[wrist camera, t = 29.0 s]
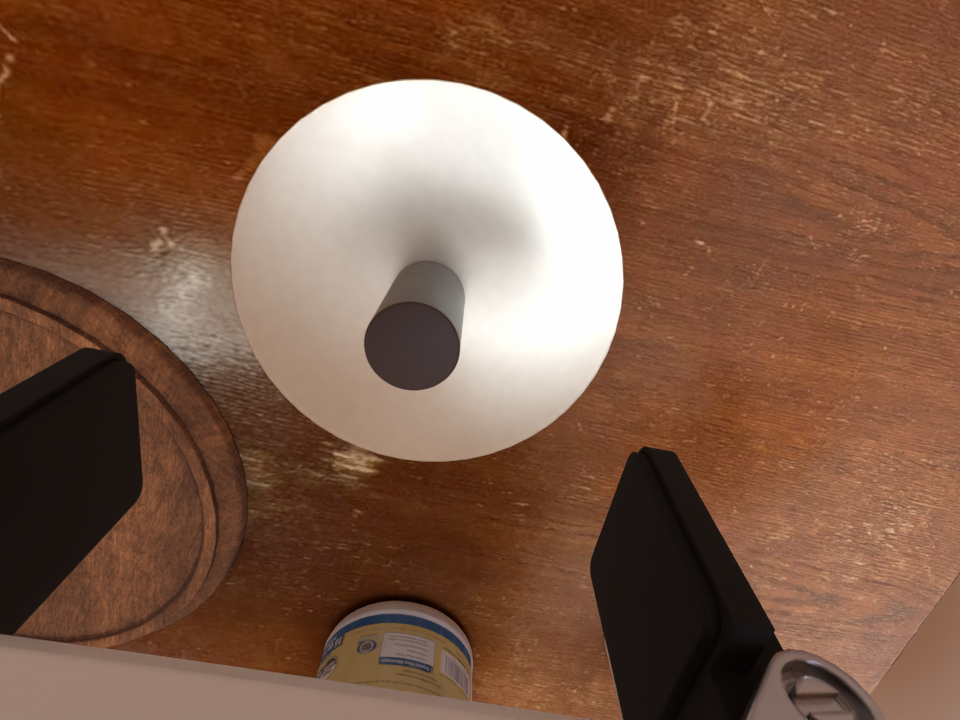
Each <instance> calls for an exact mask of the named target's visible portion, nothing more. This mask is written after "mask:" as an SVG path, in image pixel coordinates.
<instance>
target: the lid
mask: <svg viewBox="0 0 960 720" xmlns="http://www.w3.org/2000/svg"><path fill="white" fill-rule="evenodd" d="M231 277H232V288H233V294H234V299H235V304H236V309H237V313H238V316H239V319H240V322H241V325H242V328H243V331H244V334H245V336H246V338H247V340H248V342H249V345H250V347H251V349H252V351H253V353H254V355H255V357H256V358H257V360H258V362H259V363H260V365H261V366H262V368H263V370H264V371H265V373H266V374H267V376H268V377H269V378H270V380H271V381H272V382H273V383H274V385H275V386H276V387H277V388H278V389H279V391H280V392H281V393H282V394H283V395H284V396H285V397H286V398H287V399H288V400H289V401H290V402H291V403H292V404H293V405H294V406H295V407H296V408H297V409H298V410H299V411H300V412H301V413H303V414H304V415H305V416H307V417H308V418H309V419H310V420H312V421H313V422H314V423H316V424H317V425H318V426H320V427H322V428H323V429H325V430H326V431H328V432H330V433H331V434H333V435H335V436H336V437H338V438H340V439H342V440H344V441H347V442H349V443H351V444H353V445H355V446H357V447H360V448H363V449H366V450H369V451H372V452H375V453H377V454H381V455H385V456H390V457H394V458H399V459H405V460H414V461H423V462H447V461H456V460H465V459H471V458H475V457H480V456H484V455H488V454H492V453H495V452H497V451H500V450H503V449H506V448H509V447H511V446H513V445H515V444H517V443H519V442H522V441H524V440H526V439H528V438H530V437H531V436H533V435H535V434H536V433H538V432H539V431H541V430H542V429H544V428H545V427H547V426H549V425H550V424H551V423H552V422H554V421H555V420H556V419H557V418H558V417H560V416H561V415H562V414H563V413H564V412H566V411H567V410H568V409H569V408H570V406H571V405H572V404H573V403H574V402H575V401H576V400H577V399H578V398H579V397H580V396H581V395H582V394H583V392H584V391H585V389H586V388H587V387H588V385H589V384H590V383H591V381H592V380H593V378H594V377H595V376H596V374H597V372H598V370H599V368H600V367H601V365H602V363H603V361H604V359H605V357H606V356H607V353H608V351H609V348H610V346H611V343H612V341H613V338H614V335H615V333H616V329H617V325H618V321H619V317H620V312H621V307H622V298H623V288H624V271H623V255H622V249H621V243H620V237H619V232H618V229H617V226H616V223H615V220H614V216H613V213H612V210H611V207H610V205H609V203H608V201H607V199H606V197H605V194H604V192H603V190H602V188H601V186H600V184H599V182H598V181H597V179H596V178H595V176H594V175H593V173H592V171H591V170H590V168H589V167H588V165H587V164H586V162H585V161H584V159H583V158H582V157H581V156H580V155H579V154H578V153H577V151H576V150H575V149H574V148H573V147H572V146H571V145H570V143H569V142H568V141H567V140H566V139H565V138H564V137H563V136H562V135H561V134H559V133H558V132H557V131H556V130H555V129H554V128H552V127H551V126H550V125H549V124H548V123H547V122H546V121H544V120H543V119H542V118H540V117H539V116H537V115H535V114H534V113H532V112H531V111H529V110H528V109H526V108H525V107H523V106H521V105H520V104H518V103H516V102H514V101H512V100H510V99H507V98H505V97H503V96H501V95H499V94H496V93H494V92H492V91H489V90H486V89H482V88H479V87H475V86H472V85H469V84H465V83H460V82H453V81H447V80H440V79H399V80H393V81H386V82H380V83H374V84H371V85H368V86H365V87H361V88H358V89H355V90H352V91H348V92H346V93H344V94H342V95H340V96H338V97H336V98H334V99H332V100H330V101H327V102H325V103H323V104H321V105H320V106H318V107H317V108H316V109H314V110H313V111H311V112H310V113H308V114H307V115H305V116H304V117H302V118H301V119H300V120H298V121H297V122H296V123H295V124H294V125H293V126H292V127H291V128H290V129H289V130H288V131H287V132H285V133H284V134H283V135H282V136H281V137H280V138H279V139H278V140H277V141H276V143H275V144H274V145H273V147H272V148H271V149H270V150H269V152H268V153H267V154H266V155H265V157H264V158H263V159H262V161H261V162H260V164H259V166H258V168H257V169H256V171H255V173H254V175H253V176H252V178H251V180H250V182H249V183H248V186H247V188H246V191H245V193H244V196H243V199H242V201H241V204H240V206H239V209H238V213H237V218H236V222H235V227H234V231H233V237H232V249H231Z"/></svg>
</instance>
